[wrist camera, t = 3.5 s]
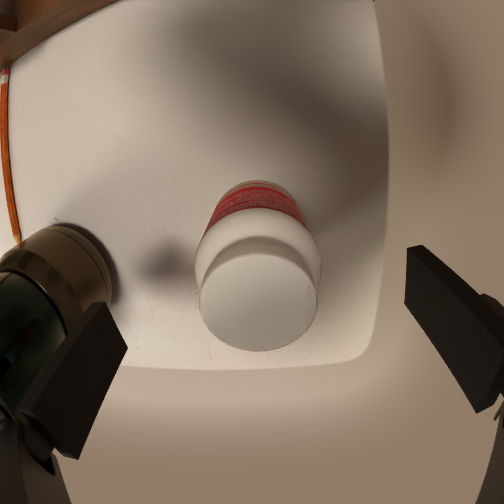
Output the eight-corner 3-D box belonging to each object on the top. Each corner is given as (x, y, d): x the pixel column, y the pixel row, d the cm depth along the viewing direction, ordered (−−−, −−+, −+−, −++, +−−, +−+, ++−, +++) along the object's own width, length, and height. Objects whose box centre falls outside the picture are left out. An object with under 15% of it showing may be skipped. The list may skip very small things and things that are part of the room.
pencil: (10, 68, 16) (6, 67, 15) (25, 249, 23) (21, 252, 22) (5, 70, 16) (0, 70, 15) (20, 249, 23) (16, 252, 22)
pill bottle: (198, 205, 21) (149, 279, 11) (274, 163, 20) (294, 201, 10) (241, 273, 23) (232, 381, 13) (313, 237, 22) (356, 330, 12)
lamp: (47, 200, 21) (-156, 352, 1) (133, 257, 23) (-27, 516, 3) (29, 281, 24) (-100, 431, 4) (102, 331, 26) (4, 525, 6)
